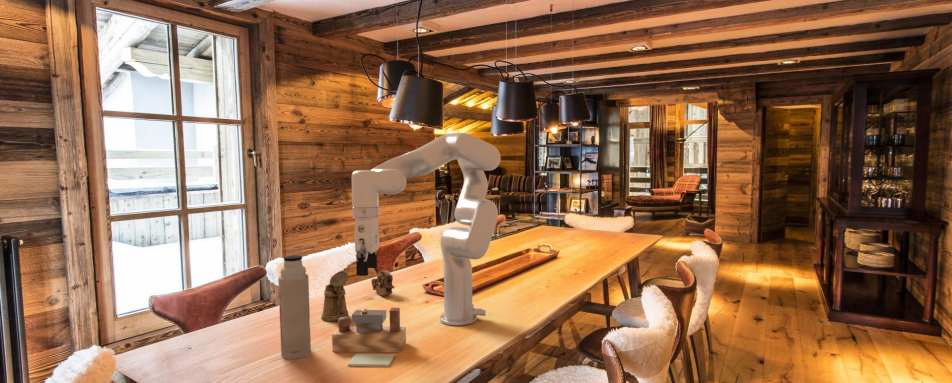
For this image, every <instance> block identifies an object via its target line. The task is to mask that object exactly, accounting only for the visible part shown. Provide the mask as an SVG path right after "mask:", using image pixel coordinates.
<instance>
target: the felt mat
mask: <svg viewBox="0 0 952 383" xmlns="http://www.w3.org/2000/svg"><path fill="white" fill-rule="evenodd" d="M394 357H395V354H394V353H355V354H353V356H352V358H351V359H350V361H349V362H348V363H347V367H376V368H377V367H380V368H381V367H383V368H385V367H386V368H389V367H390V365H391V363H392V361H393V359H394Z"/></svg>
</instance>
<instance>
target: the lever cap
mask: <svg viewBox="0 0 952 383" xmlns="http://www.w3.org/2000/svg"><path fill="white" fill-rule="evenodd" d="M386 320H387V309H368V308H361V309H355V311H354V312H353V313H352V314H351V324H356V323H383V324H384V322H385V321H386Z"/></svg>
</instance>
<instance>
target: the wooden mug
mask: <svg viewBox="0 0 952 383" xmlns="http://www.w3.org/2000/svg"><path fill="white" fill-rule="evenodd" d="M348 280H349V274H348V273H346V272H344V271H339V272H336V273H334V275H332V276H331V277H330V280H329V284H326V286H325V289H324V292H323V296H324V300H323V306H322V307H323V309H322V313H321V320H322V321H324V322H325V321H326V322H338V318H340V317H349V310H348V308H347V302H346V301H347V300H346V290H345V287H344V285H345V284H346V283H347V281H348Z"/></svg>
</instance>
